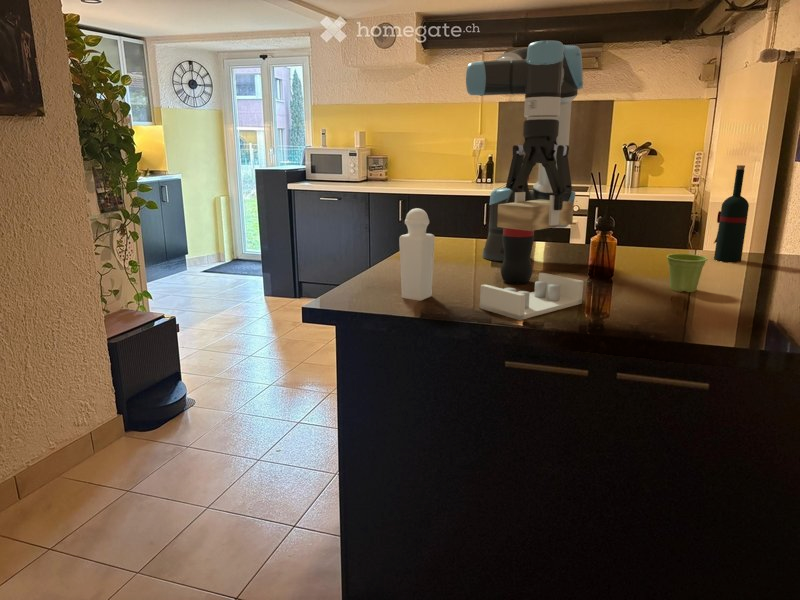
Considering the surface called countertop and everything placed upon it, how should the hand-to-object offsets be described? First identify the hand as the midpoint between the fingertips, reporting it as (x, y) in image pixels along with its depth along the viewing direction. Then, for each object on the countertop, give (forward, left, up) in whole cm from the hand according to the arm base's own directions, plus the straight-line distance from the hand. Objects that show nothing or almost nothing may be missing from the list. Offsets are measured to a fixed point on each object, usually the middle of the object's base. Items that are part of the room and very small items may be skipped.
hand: (535, 222), depth 132 cm
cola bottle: (-16, -19, -20) cm, 32 cm away
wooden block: (0, 0, -1) cm, 1 cm away
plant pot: (-43, +14, -20) cm, 49 cm away
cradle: (0, 0, -20) cm, 20 cm away
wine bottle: (-93, +2, -20) cm, 95 cm away
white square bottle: (+16, -23, -20) cm, 34 cm away
